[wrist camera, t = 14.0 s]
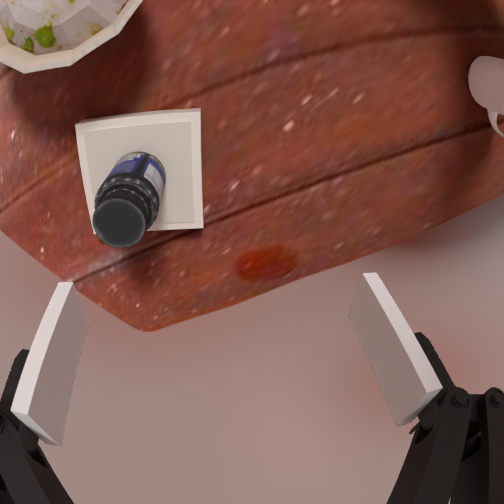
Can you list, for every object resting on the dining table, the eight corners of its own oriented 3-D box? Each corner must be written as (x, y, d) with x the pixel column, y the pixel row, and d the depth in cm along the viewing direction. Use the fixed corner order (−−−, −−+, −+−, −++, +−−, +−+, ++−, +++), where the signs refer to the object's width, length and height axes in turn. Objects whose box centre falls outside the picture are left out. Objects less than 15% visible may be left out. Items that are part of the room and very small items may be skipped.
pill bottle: (109, 192, 34) (79, 245, 25) (121, 143, 31) (89, 181, 22) (158, 206, 36) (145, 262, 27) (174, 158, 33) (162, 201, 24)
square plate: (82, 119, 31) (74, 124, 28) (200, 108, 33) (200, 111, 30) (99, 224, 38) (93, 234, 36) (203, 218, 40) (203, 228, 38)
